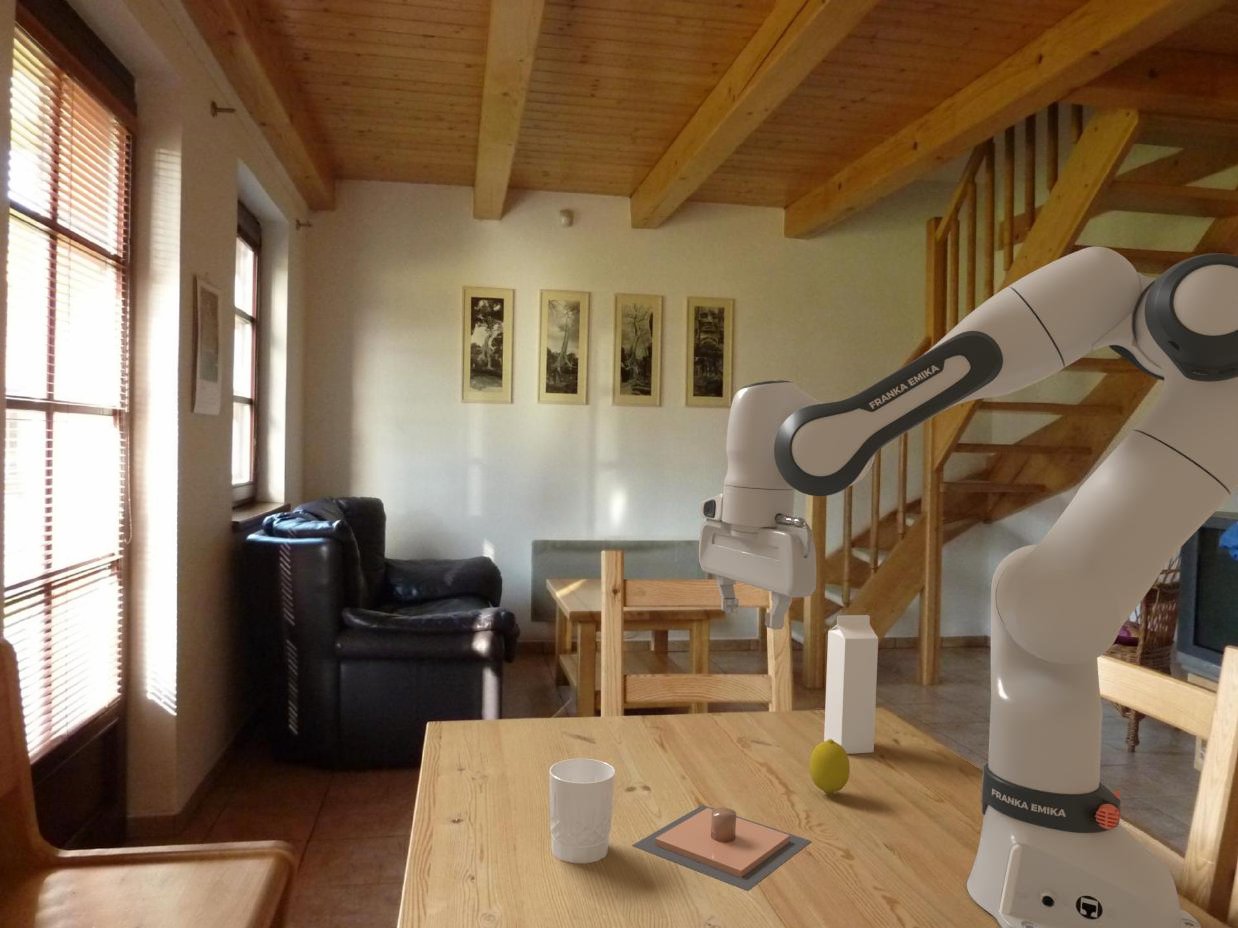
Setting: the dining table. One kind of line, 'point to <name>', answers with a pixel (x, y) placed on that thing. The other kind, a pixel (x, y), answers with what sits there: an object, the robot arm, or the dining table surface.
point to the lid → (723, 841)
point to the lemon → (829, 766)
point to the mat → (743, 882)
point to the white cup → (581, 809)
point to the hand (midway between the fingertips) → (750, 619)
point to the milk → (851, 684)
